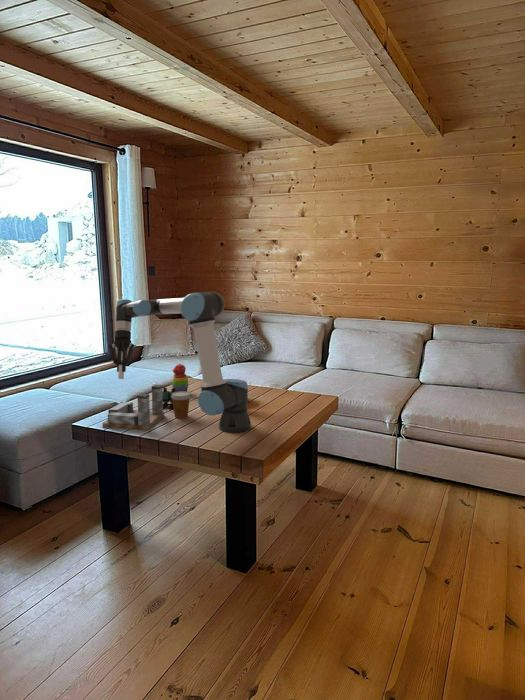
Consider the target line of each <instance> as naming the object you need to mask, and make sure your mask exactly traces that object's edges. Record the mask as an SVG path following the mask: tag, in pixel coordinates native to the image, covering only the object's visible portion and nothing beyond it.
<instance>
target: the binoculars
mask: <svg viewBox="0 0 525 700" xmlns="http://www.w3.org/2000/svg"><path fill="white" fill-rule="evenodd" d="M162 391H163V410H165V408H166V409H167V406H168V409H169V410H174V407H173V400H172V397H171V396H172V393H174V392H176V391H175V388H173V387H172V388H171V389H170V390H168V388H167V387H165V386H163V387H162ZM169 402H170V403H169Z"/></svg>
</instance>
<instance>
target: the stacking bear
mask: <svg viewBox="0 0 525 700" xmlns="http://www.w3.org/2000/svg"><path fill="white" fill-rule="evenodd" d="M186 369H187V368H186V366H185V365H183V364H181V363H179V364H176V365H175V367H173V369H172V372H173V373H174V374H173V376H172V380H171V384H172V385H171V386H172V388H175V391H176V392H179V391H185V392H189V391H188V389H189V378H188V375H186Z"/></svg>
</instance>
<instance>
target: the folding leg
mask: <svg viewBox="0 0 525 700" xmlns="http://www.w3.org/2000/svg"><path fill="white" fill-rule="evenodd" d="M119 403H120V402H119ZM119 403H117V405H115V406H113V407H111V408H110V409H108V411H107V413H108V414H109V413H111V412H117V413H127V412H128V404H130V403H128V402H123V403H120V404H119Z"/></svg>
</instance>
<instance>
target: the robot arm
mask: <svg viewBox="0 0 525 700" xmlns="http://www.w3.org/2000/svg"><path fill="white" fill-rule="evenodd" d="M225 307H226V304H225V299H224V297H223V296H222V295H221V294H220V293H218V292H215V291H203V292H201V291H199V292H191V293H189V294H187V295H186V296H184V297H174V298H158V299H139V300H136V301H132V300H130V299H126V298H122V299H118V300H117V301H116V307H115V326H114V327H115V332H114V341H113V343H112V344H109V346H108V347H109V349H110V351H111V357H112V362H113V364H114V365H116V372H117V373H118V376H117V377H118V378H117V379H119V380H124V377H125V372H126V369H127V366H128V365H130V364H131V360H132V356H133V353H134V350H135V348H136V344H134V343H132V340H131V338H132V332H131V331H132V323H133V322H132V319H133V318H138V317H139V318H140V317H147V316H157V315H171V314H172V315H173V314H174V315H176V314H181V315H182V317H183V318H184V319H185V320H186V321H188V325H189V327H191V328H192V329H193V333H194V339H195V344H196V349H197V354H198V360H199V366H200V371H201V376H202V384H201V385H200V390H201V392H199V394H198V397H197V402H198V407H199V408H200V410H201V411H202V412H204V413H205V414H206V415H208V416H217V415H221V416H220V419H219V421H218V429H219V430H221V431H223V432H225V431H227V432H226V433H233V432H236V433H244V432H247V431H249V430H250V429H251V428H252V422H251V418H250V416H249V413H248V397H249V395H248V394H249V393H248V390H249V388H248V382H247V381H246V380H244V379H237V378H225V379H224V378H223V373H222V369H221V367H222V366H221V362H220V358H219V353H218V352H219V351H218V347H217V341H216V335H215V331H214V324H215V322H216V317H218V316H220V315H221V314H223V311H224V310H225ZM246 430H247V431H246ZM243 431H244V432H243Z"/></svg>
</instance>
